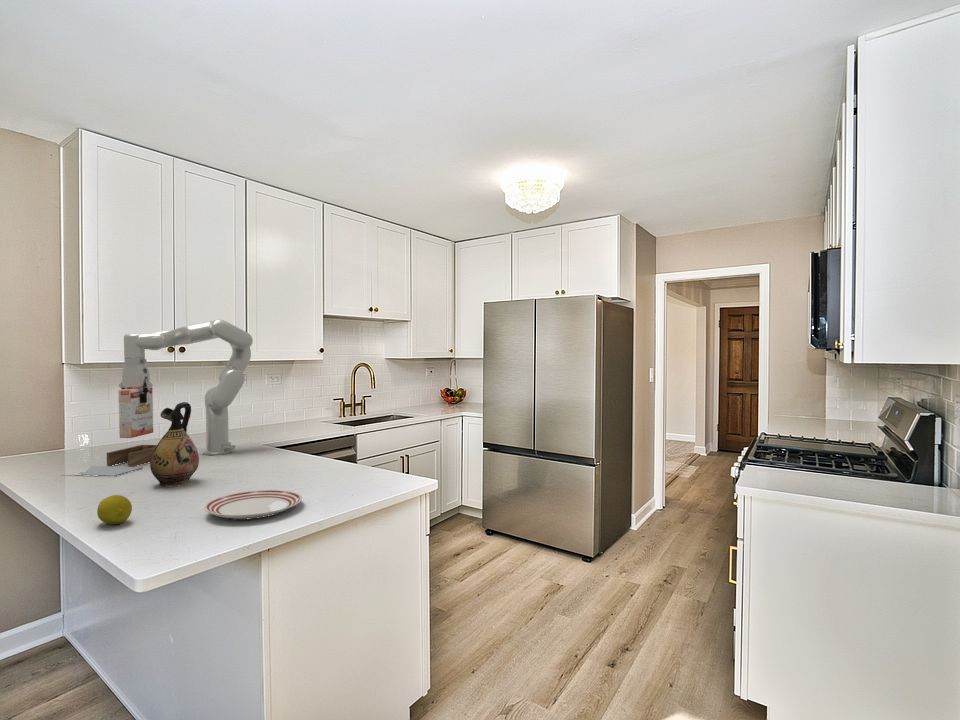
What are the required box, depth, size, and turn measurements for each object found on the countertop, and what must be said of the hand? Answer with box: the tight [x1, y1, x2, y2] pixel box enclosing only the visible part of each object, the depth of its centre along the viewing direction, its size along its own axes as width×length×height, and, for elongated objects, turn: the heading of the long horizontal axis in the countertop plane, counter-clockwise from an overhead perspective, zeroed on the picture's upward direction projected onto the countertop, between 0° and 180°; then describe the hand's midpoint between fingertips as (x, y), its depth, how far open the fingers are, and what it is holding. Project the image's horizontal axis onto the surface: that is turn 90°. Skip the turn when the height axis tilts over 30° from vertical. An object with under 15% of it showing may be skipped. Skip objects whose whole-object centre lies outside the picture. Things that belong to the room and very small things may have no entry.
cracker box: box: [118, 387, 154, 439], centre depth 221 cm, size 14×6×21 cm, turn 179°
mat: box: [79, 465, 144, 477], centre depth 204 cm, size 24×14×1 cm, turn 82°
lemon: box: [96, 494, 133, 525], centre depth 143 cm, size 11×8×8 cm
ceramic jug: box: [149, 401, 200, 488], centre depth 187 cm, size 17×15×30 cm
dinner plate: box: [203, 489, 303, 520], centre depth 155 cm, size 28×27×3 cm
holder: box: [106, 444, 158, 467], centre depth 221 cm, size 11×19×6 cm, turn 172°
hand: (136, 402), depth 221 cm, fingers closed on cracker box, 6 cm apart
